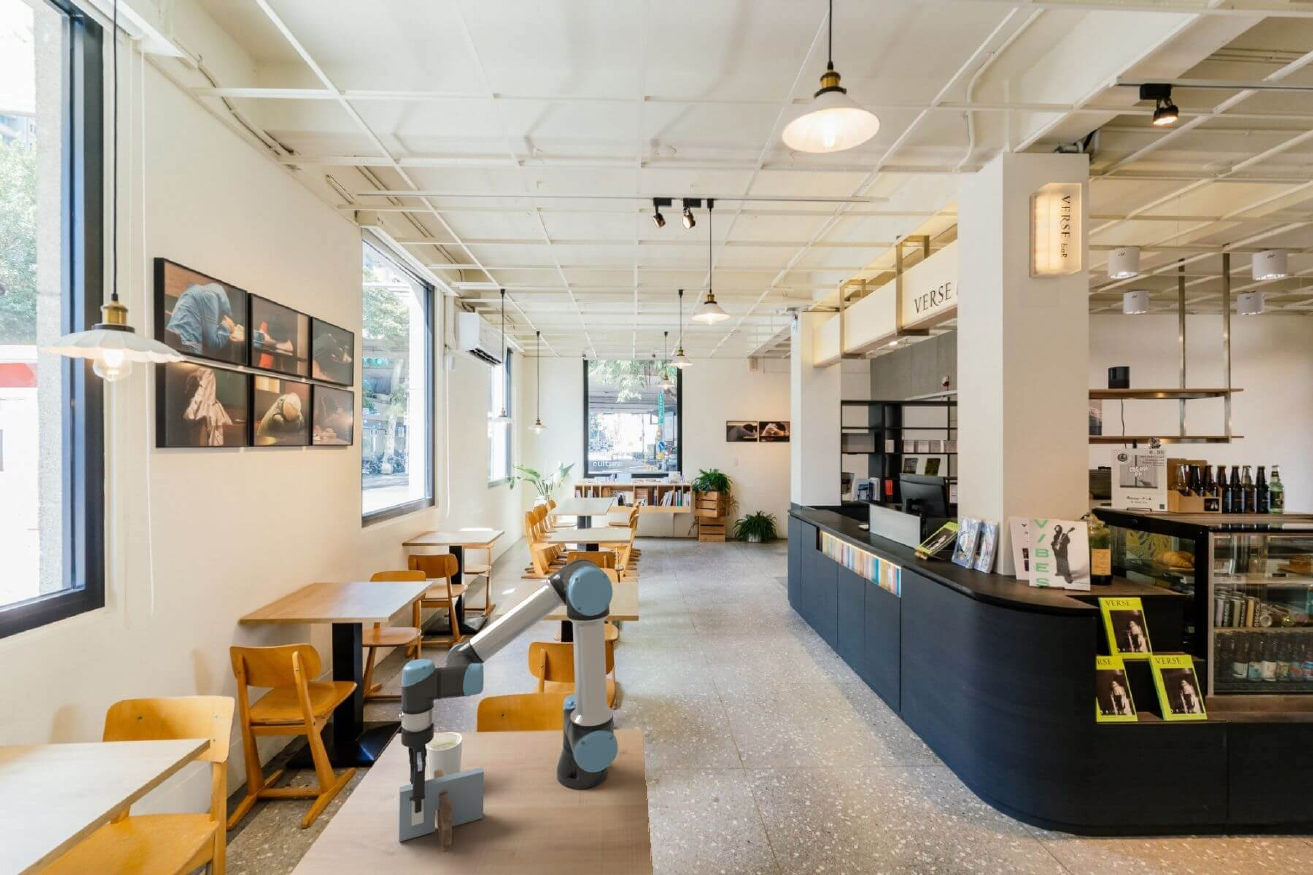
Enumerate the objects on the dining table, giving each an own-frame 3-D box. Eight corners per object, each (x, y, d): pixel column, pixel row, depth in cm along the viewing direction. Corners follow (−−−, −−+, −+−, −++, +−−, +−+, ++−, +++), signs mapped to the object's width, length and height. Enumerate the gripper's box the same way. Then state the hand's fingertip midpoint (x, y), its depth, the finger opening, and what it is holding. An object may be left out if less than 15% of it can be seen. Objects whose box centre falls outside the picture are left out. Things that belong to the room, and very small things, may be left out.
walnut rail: (441, 806, 153) (442, 768, 153) (451, 848, 137) (451, 807, 137) (433, 808, 152) (434, 770, 152) (442, 851, 136) (442, 809, 136)
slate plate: (481, 812, 151) (482, 766, 151) (483, 817, 148) (483, 771, 149) (398, 835, 141) (399, 786, 141) (399, 841, 139) (400, 792, 139)
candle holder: (450, 795, 158) (450, 751, 158) (418, 790, 160) (419, 747, 160) (468, 774, 168) (469, 734, 168) (438, 770, 170) (439, 730, 170)
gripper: (399, 714, 148) (398, 805, 147) (403, 743, 134) (402, 843, 133) (430, 708, 151) (429, 797, 151) (437, 735, 137) (436, 833, 137)
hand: (416, 818), depth 142 cm, fingers open, 3 cm apart
